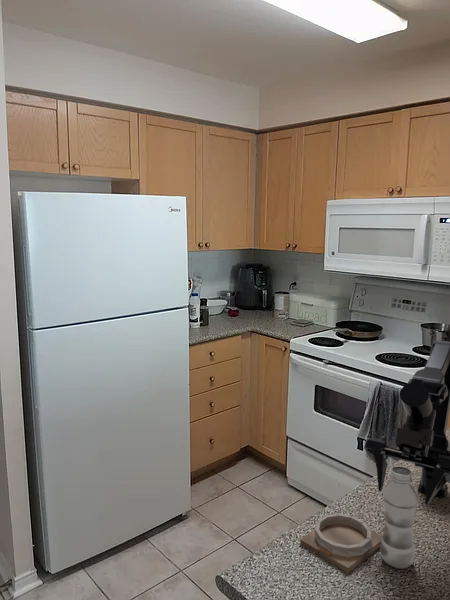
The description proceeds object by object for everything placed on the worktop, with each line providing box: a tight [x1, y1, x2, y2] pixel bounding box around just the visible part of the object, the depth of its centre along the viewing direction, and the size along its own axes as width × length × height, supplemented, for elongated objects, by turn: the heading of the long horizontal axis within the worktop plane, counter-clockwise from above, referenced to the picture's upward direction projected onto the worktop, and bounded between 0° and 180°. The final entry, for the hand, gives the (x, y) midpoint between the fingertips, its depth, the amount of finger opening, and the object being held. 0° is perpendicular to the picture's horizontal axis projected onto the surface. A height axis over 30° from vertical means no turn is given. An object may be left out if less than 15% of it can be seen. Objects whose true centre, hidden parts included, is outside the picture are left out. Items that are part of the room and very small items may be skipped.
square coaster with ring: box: [299, 513, 383, 574], centre depth 103 cm, size 14×12×3 cm
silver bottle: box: [379, 465, 419, 569], centre depth 96 cm, size 6×7×20 cm
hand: (402, 497), depth 97 cm, fingers open, 9 cm apart
